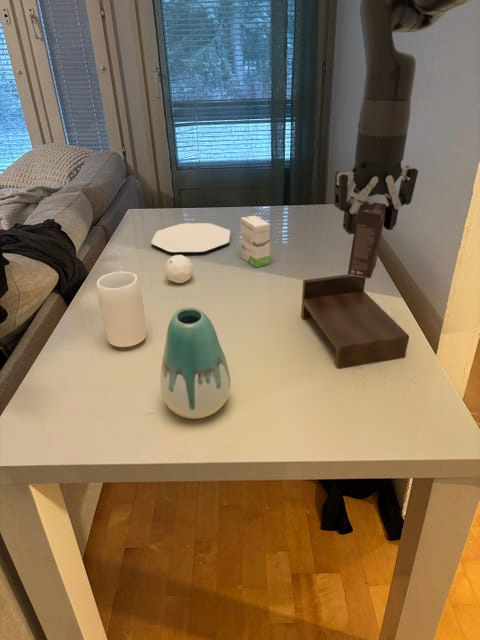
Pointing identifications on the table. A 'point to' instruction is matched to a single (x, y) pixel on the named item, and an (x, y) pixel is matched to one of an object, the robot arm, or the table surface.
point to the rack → (352, 321)
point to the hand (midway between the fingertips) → (368, 230)
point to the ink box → (255, 241)
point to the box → (366, 239)
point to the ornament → (178, 268)
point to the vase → (193, 366)
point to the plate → (191, 238)
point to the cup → (121, 308)
